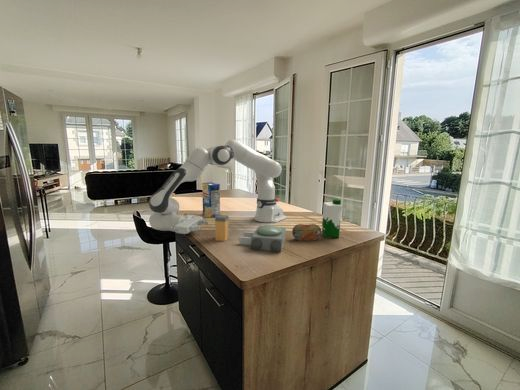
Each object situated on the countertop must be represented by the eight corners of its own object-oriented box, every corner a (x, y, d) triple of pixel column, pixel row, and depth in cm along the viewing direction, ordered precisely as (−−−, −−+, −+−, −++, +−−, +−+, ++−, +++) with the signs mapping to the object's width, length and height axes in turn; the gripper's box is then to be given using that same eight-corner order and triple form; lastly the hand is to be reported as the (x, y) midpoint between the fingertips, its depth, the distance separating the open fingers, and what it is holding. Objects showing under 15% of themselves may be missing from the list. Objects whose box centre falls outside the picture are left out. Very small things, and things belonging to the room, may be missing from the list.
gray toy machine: (236, 248, 122) (236, 232, 120) (246, 234, 141) (246, 221, 140) (280, 252, 118) (281, 236, 117) (285, 238, 137) (286, 224, 136)
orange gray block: (215, 240, 132) (215, 217, 129) (218, 236, 136) (218, 214, 134) (225, 241, 131) (225, 217, 128) (228, 237, 135) (228, 215, 133)
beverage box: (211, 218, 171) (210, 185, 167) (202, 214, 179) (202, 183, 175) (220, 216, 175) (219, 184, 171) (211, 213, 183) (211, 182, 179)
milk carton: (341, 238, 139) (344, 201, 135) (324, 238, 138) (327, 201, 134) (335, 233, 147) (338, 198, 144) (319, 233, 147) (322, 198, 143)
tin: (292, 240, 134) (293, 224, 132) (291, 238, 137) (292, 223, 135) (321, 240, 135) (322, 224, 134) (319, 238, 138) (320, 223, 137)
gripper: (168, 223, 126) (195, 225, 124) (188, 213, 146) (211, 214, 143) (169, 235, 127) (195, 238, 125) (188, 223, 147) (211, 225, 145)
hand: (204, 225), depth 134 cm, fingers open, 8 cm apart
